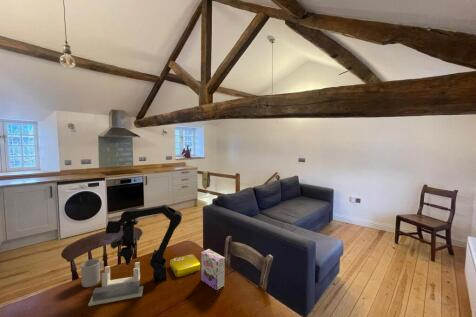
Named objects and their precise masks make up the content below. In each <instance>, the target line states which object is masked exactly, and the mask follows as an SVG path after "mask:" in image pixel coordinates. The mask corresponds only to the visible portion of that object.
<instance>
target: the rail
mask: <svg viewBox="0 0 476 317" xmlns="http://www.w3.org/2000/svg"><path fill="white" fill-rule="evenodd" d="M140 283H141V282H140V280H139V281H136V282H130V283H124V284H118V285H112V286H106V287H102V286H100V287H94V289H93V291H92V295H93V301H99V300H104V299H110V298H115V297H121V296H126V295H132V294H137V293H139V289H140V285H141V284H140Z"/></svg>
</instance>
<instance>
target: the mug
mask: <svg viewBox="0 0 476 317" xmlns="http://www.w3.org/2000/svg"><path fill="white" fill-rule="evenodd" d="M102 267H103V262H102V260H101V259H98V258H91V259H88V260H85V261H83V262H82V263H81V264H80V268H81V269H80V271H81V272H80V273H81V274H80V275H81V276H80V277H81V286H82V287H83V288H90V287H93V286H96V285H97V284H99V283H100V281H101V271H102V269H103V268H102Z"/></svg>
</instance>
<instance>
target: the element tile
mask: <svg viewBox="0 0 476 317" xmlns="http://www.w3.org/2000/svg"><path fill="white" fill-rule="evenodd" d="M169 264H170V269H171V270H172V272H173V274H174V276H175V277H177V278H180V277H184V276H187V275H191V274H194V273H196V272H195V271H197V272H199V271H201V261H199V260H198V258H197V257H196V256H195V255H194V254H193V253H190V254H187V255H182V256H179V257H174V258H171V259H170V261H169ZM198 270H199V271H198ZM193 272H194V273H193ZM190 273H191V274H190Z"/></svg>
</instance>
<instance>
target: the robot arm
mask: <svg viewBox="0 0 476 317" xmlns="http://www.w3.org/2000/svg"><path fill="white" fill-rule="evenodd" d="M160 214H162V215H164V216H165V217H166V218H167V220H169V223H168V224H169V225H168V227H167V230H166V232H165V234H164V236H163V238H162V240H161V242H160V244H159V246H158V248H157V249H153V252H152V254H151V256H150V259H149V265H150V267H151V268H152V269H153V272H152V274H153V276H152V280H153V283H161V282H165V281H167V279H168V278H167V276H168V275H167V274H168V273H167V259H166V258H165V257H164V255H165V252H166V249H167V247H168V245H169V243H170V241H171V238H172V236H173V234H174V232H175V230H176V229H177V228H178V227H179V226H180V224H181V222H182V219H183V214H182V212H181V211H179V210H176V209H174V208H173V207H170V206H168V205H167V204H161V205H157V206H156V205H155V206H150V207H144V208H136V207H133V208H132V207H131V208H130V207H129V208H126V209H125V210H124V211H123V212H122V213H121V215H120V218H119V220H108V221H107V225H106V229H105V234H106V235H112V234H113V235H116V234H120V233H121V232H122V235H121V236H119V237H117V238H115V239H113V240H111V242H110V248H111V249H112V250H115V249H116V248H119V247H120V246H121V247H122V248H120V250H119V255H118V256H119V257H121V258H122V257H123V259H124V262H125V265H127V266H129V265H130V263H131V260H132V258H133V256H134V253H135V248H136V245H137V242H138V236H137V235H135V234H136V232H135V226H137V225H138V223H139V220H138V219H139V218H142V217H148V216H156V215H160Z"/></svg>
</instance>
